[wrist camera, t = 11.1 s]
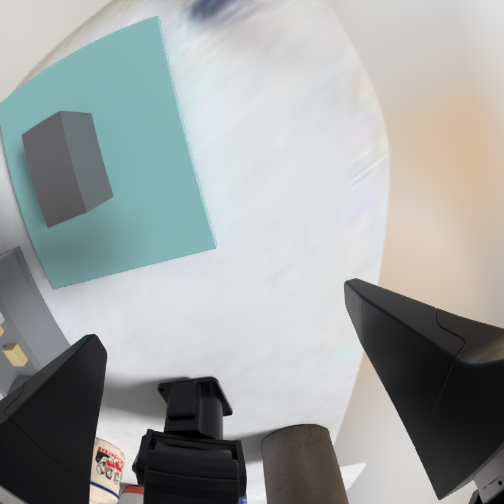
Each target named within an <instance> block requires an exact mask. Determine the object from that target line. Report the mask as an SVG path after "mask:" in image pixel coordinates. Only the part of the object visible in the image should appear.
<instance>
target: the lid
mask: <svg viewBox="0 0 504 504" xmlns="http://www.w3.org/2000/svg"><path fill="white" fill-rule="evenodd" d="M0 127H1V133H2V139H3V145H4V150H5V155H6V159H7V164H8V168H9V172H10V176H11V180H12V184H13V187H14V191H15V194H16V198H17V201H18V204H19V207H20V211H21V214H22V217H23V219H24V222H25V225H26V228H27V231H28V233H29V236H30V239H31V241H32V244H33V246H34V249H35V251H36V254H37V256H38V258H39V261H40V263H41V265H42V267H43V270H44V272H45V274H46V276H47V278H48V280H49V282H50V285H51V287H52V289H53V290H54V289H57V288H61V287H65V286H69V285H73V284H76V283H80V282H84V281H88V280H92V279H96V278H100V277H103V276H107V275H111V274H115V273H119V272H123V271H127V270H131V269H135V268H139V267H143V266H147V265H151V264H155V263H159V262H163V261H167V260H171V259H175V258H179V257H183V256H187V255H191V254H195V253H199V252H203V251H207V250H212V249H216V245H217V242H216V239H215V235H214V232H213V228H212V225H211V221H210V218H209V214H208V211H207V207H206V204H205V200H204V197H203V193H202V189H201V186H200V182H199V178H198V175H197V171H196V167H195V163H194V160H193V156H192V152H191V148H190V144H189V141H188V137H187V133H186V129H185V125H184V121H183V117H182V113H181V109H180V105H179V101H178V97H177V93H176V88H175V84H174V80H173V76H172V71H171V67H170V63H169V58H168V54H167V49H166V45H165V40H164V36H163V31H162V26H161V22H160V20H159V18H158V17H157V16H155V17H152V18H149V19H146V20H143V21H141V22H138V23H135V24H133V25H130V26H128V27H125V28H123V29H121V30H118V31H116V32H114V33H111V34H109V35H107V36H105V37H103V38H101V39H99V40H97V41H95V42H93V43H91V44H89V45H87V46H85V47H83V48H81V49H79V50H77V51H75V52H74V53H72V54H70V55H68V56H67V57H65V58H63V59H62V60H60V61H58V62H57V63H55V64H53V65H52V66H50V67H49V68H47V69H46V70H44V71H42V72H41V73H40V74H38V75H37V76H35V77H34V78H32V79H31V80H29V81H28V82H27V83H25V84H24V85H23V86H21V87H20V88H19V89H17V90H16V91H15V92H13V93H12V94H11V95H10V96H8V97H7V98H6V99H5V100H3V101H2V102H1V103H0Z"/></svg>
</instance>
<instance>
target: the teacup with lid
mask: <svg viewBox="0 0 504 504" xmlns="http://www.w3.org/2000/svg"><path fill="white" fill-rule="evenodd" d="M124 463H125V455H124V454H123V452H122V451H121V450H119V449H118V448H117V447H115V446H114V445H112V444H110V443H108V442H106V441H103V440H101V439H98V438H95V443H94V451H93V460H92V470H91V481H90V500H89V504H94V503H106V502H108V503H116V502H117V501H118V500H119V496H118V494H119V489H120V483H121V478H122V473H123V468H124Z"/></svg>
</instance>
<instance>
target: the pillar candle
mask: <svg viewBox="0 0 504 504" xmlns="http://www.w3.org/2000/svg"><path fill="white" fill-rule="evenodd" d="M261 449H262V459H263V469H264V478H265V488H266V497H267V504H349V503H348V499H347V495H346V491H345V487H344V483H343V479H342V476H341V472H340V468H339V465H338V462H337V458H336V454H335V452H334V448H333V445H332V441H331V438H330V434H329V431H328V429H327V428H325V427H322V426H320V425H316V424H305V425H296V426H291V427H287V428H284V429H280V430H278V431H275V432H273V433H272V434H270V435H269V436H267V437H266V438H265V439H264V440H263V441H262V444H261Z"/></svg>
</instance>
